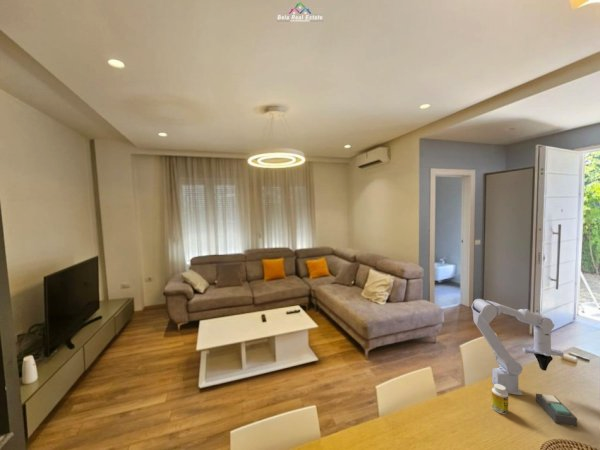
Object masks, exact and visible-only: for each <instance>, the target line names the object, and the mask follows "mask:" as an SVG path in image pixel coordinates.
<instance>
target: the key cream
mask: <svg viewBox="0 0 600 450" xmlns="http://www.w3.org/2000/svg"><path fill="white" fill-rule="evenodd" d="M541 394H542V393H541ZM554 396H555V395H551V394H546V393H545V394H544V393H543V394H542V398H543V399H544V400H545V401H546V402H547V403H549V404H550V403H553V404H560V402H561V401H560V400H559V399H558V398H557V397H556V396H555V397H556V398H557V399H558V400H559V401H560V402H559V401H558V400H557V399H556V398H555V397H554Z"/></svg>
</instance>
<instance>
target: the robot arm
mask: <svg viewBox="0 0 600 450" xmlns="http://www.w3.org/2000/svg"><path fill="white" fill-rule="evenodd" d="M470 308H471V310H472V317H473V323H474V324H475V326H476V327H477V329H478V330H479V332H480V333H481V335H482V337H484V339H485V341H486V343H487V344H488V345H489V347H490V348H491V349H492V351H493V355H494V356H495V361H496V363H497V364H498V367H493V368H492V370H491V372H492V374H491V376H492V377H491V383H492V384H493V385H494V384H501V385H503V386H504V387H505V388H506V392H507V393H508V395H509V394H512V395H517V396H523V395H524V393H522V391H521V390H520V389H519V376H520V374H521V373H522V372H523V366H522V364H520V362H518V361H517V360H515V358H514V357H513V356H512V354H510V353H509V352H508V351H507V349H506V347H505V346H504V345H503V343H502V342H501V340H500V339H499V337H498V336H497V335H496V333H495V331H494V329H493V328H492V327H491V326H490V323H492V321H493V320H494V318H495V317H496V316H501V315H500V314H504V315H507V316H511V317H515V318H516V319H517V321H520V322H521V323H524V324H527V325H532V326H533V346H531V347H522V352H523V353H524V354H526V355H527V354H533V356H534V357H535V358H536V361H537V364H538V365H539V369H540V370H541V371H543V372H544V371H547V369H548V366H549V365H550V363H551V362H552V361H553V360H554V359H553V356H558V357H562V358H563V357H564V352H563V351H562V350H560V349H559V350H558V349H554V348H553V349H552V340H551V339H552V338H551V337H552V336H551V335H552V330H553V329H554V327H555V324H554V322H553V321H552V319H551V318H549V317H547V316H545V315H542V314H541V313H539V312H533V311H531V310H530V309H528V308H520V309H516V308H515V309H514V308H512V307H509V306H506V305H504V304H500V303H499V302H498V303H497V302H495V301H492V300H488V299H487V300H486V299H485V300H484V299H483V298H476V299H474V301H473V302H472V304H471V307H470Z"/></svg>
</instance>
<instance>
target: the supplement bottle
mask: <svg viewBox="0 0 600 450" xmlns="http://www.w3.org/2000/svg"><path fill="white" fill-rule="evenodd" d="M491 407H492V409H493V410H494V411H495V412H497V413H498V414H501V415H507V414H508V413H509V393H507V392H506V388H505V387H504V386H503V385H501V384H493V387H492V388H491Z"/></svg>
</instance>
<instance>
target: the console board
mask: <svg viewBox="0 0 600 450" xmlns="http://www.w3.org/2000/svg"><path fill="white" fill-rule="evenodd" d="M535 401H536V402H537V404H538V405H539V406H540V407H541V408H542V410H543V411H544V412H545V413H546V414H547V415H548V416H549V417H550V419H551V420H552V421H553V423H555V424H559V425H565V426H571V427H578V423H577V424H573V423H567V422H560V421H555V420H554V419H553V417H552V416H551V415H550V414H549V413H548V412H547V411H546V410H545V408H544V407H543V406H542V405H541V404H540V403H539V402H538V400H537V399H536V398H535Z"/></svg>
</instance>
